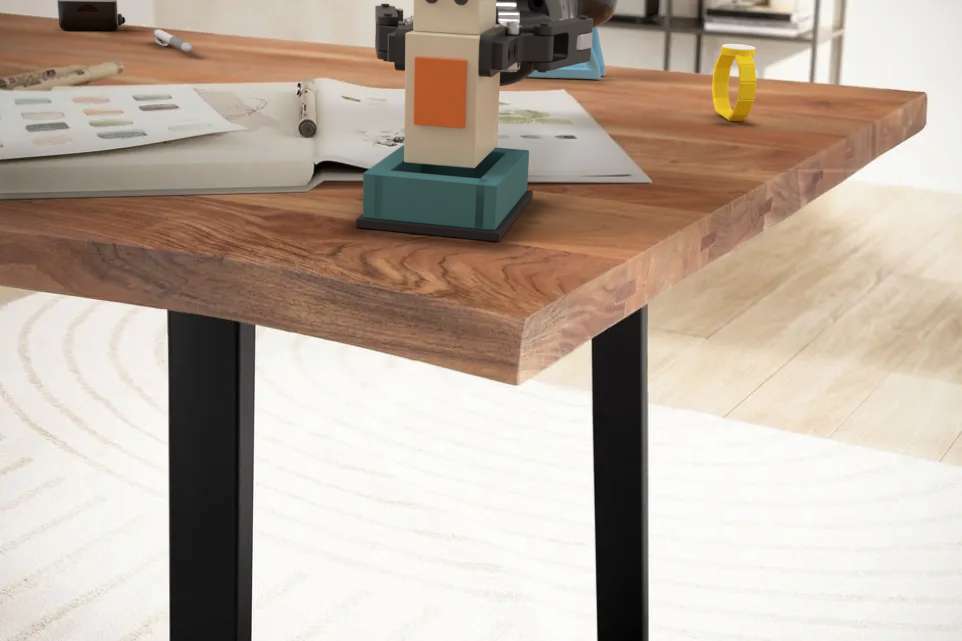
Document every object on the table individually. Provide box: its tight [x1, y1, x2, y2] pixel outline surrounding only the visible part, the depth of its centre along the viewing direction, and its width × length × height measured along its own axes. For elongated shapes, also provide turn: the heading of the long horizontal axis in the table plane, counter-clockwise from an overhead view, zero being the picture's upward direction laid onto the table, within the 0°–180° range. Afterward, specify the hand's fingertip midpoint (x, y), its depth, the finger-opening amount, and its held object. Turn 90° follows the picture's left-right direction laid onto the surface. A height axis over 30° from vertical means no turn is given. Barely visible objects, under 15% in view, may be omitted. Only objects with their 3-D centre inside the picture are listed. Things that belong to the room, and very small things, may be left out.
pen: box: [152, 28, 194, 53], centre depth 127 cm, size 1×14×1 cm, turn 29°
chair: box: [527, 26, 606, 80], centre depth 119 cm, size 8×8×12 cm
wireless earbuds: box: [56, 0, 127, 32], centre depth 139 cm, size 5×7×3 cm, turn 105°
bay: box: [355, 144, 534, 243], centre depth 70 cm, size 10×8×3 cm
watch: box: [711, 43, 757, 122], centre depth 102 cm, size 6×3×6 cm, turn 12°
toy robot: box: [403, 0, 501, 168], centre depth 68 cm, size 6×4×10 cm, turn 167°
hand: (443, 54), depth 65 cm, fingers closed on toy robot, 4 cm apart
